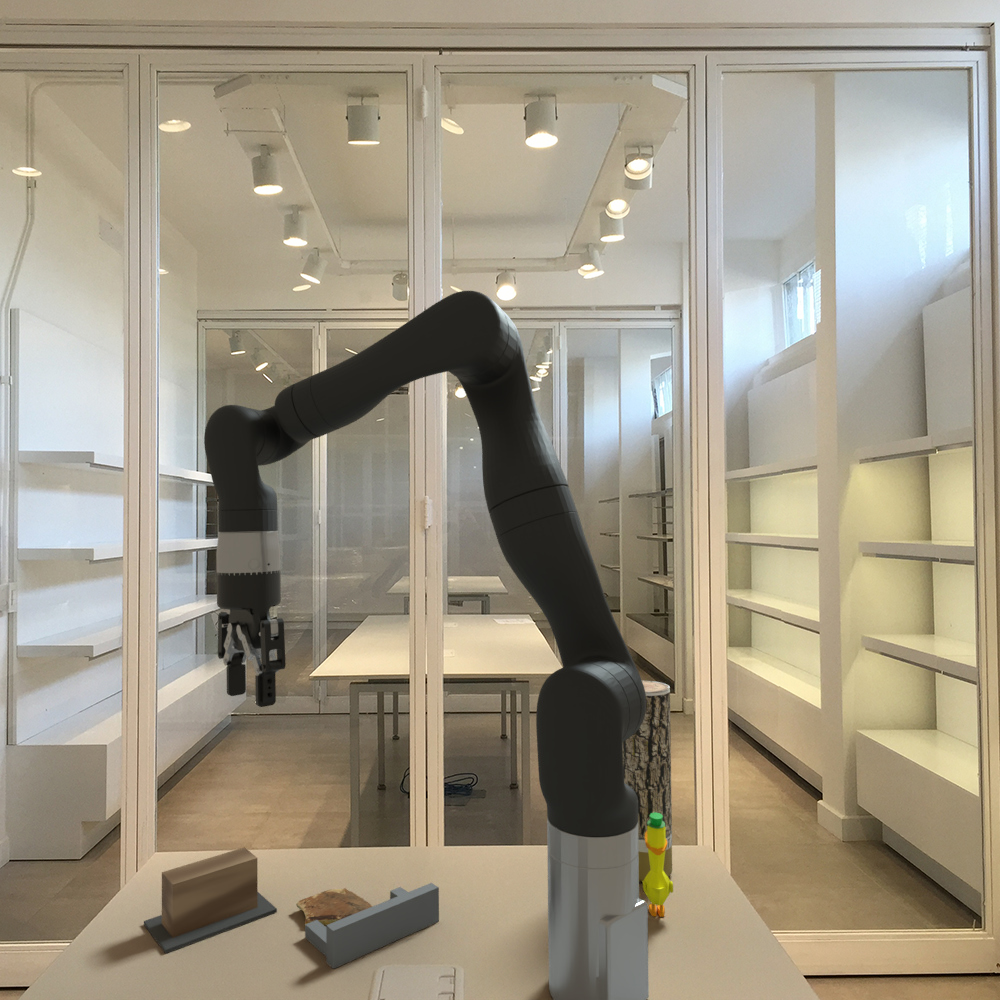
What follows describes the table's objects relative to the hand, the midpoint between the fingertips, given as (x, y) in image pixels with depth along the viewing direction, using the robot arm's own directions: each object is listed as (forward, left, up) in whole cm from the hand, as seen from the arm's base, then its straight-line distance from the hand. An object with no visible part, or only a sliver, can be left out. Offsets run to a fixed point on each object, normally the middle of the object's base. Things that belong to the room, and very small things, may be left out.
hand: (250, 700), depth 93 cm
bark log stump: (-26, -44, -26) cm, 57 cm away
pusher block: (+2, +4, -25) cm, 26 cm away
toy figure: (-33, -37, -26) cm, 56 cm away
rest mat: (+2, +4, -26) cm, 26 cm away
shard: (-8, -9, -27) cm, 29 cm away
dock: (-14, -9, -26) cm, 30 cm away
